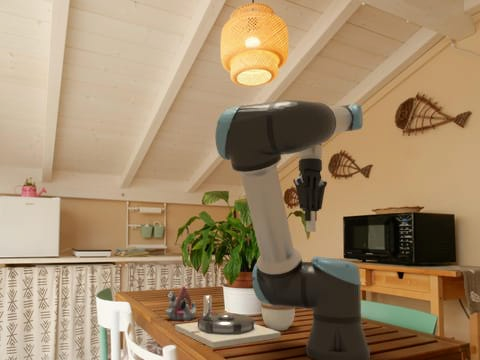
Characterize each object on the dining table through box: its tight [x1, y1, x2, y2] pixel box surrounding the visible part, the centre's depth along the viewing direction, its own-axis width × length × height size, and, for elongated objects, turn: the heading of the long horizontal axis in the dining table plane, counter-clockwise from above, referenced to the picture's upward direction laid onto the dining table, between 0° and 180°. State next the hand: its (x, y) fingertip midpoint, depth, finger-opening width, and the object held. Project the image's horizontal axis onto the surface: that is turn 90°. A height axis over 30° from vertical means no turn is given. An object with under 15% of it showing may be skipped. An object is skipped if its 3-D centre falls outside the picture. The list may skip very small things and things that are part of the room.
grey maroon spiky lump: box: [163, 285, 198, 322], centre depth 144 cm, size 11×11×12 cm
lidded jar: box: [260, 302, 296, 332], centre depth 130 cm, size 11×11×9 cm
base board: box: [174, 321, 282, 349], centre depth 122 cm, size 24×22×2 cm
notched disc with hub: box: [197, 294, 255, 334], centre depth 123 cm, size 16×17×9 cm
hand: (310, 231), depth 132 cm, fingers closed
